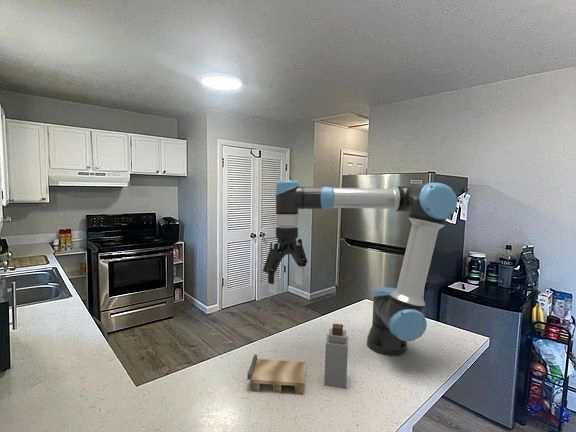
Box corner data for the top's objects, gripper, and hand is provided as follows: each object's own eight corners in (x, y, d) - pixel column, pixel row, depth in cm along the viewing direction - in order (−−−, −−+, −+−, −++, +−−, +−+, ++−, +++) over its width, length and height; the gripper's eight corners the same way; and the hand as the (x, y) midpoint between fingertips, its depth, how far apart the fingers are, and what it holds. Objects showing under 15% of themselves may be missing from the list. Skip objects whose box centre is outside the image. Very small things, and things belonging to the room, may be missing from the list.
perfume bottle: (346, 388, 99) (348, 331, 97) (324, 385, 100) (326, 329, 99) (346, 376, 105) (348, 323, 104) (325, 373, 107) (327, 320, 105)
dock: (304, 371, 107) (305, 357, 107) (303, 394, 95) (304, 378, 95) (254, 368, 108) (254, 354, 108) (247, 390, 96) (247, 374, 96)
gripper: (301, 223, 120) (300, 279, 122) (252, 228, 101) (252, 294, 103) (317, 224, 115) (316, 282, 117) (269, 230, 97) (269, 299, 98)
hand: (286, 288), depth 110 cm, fingers open, 13 cm apart
